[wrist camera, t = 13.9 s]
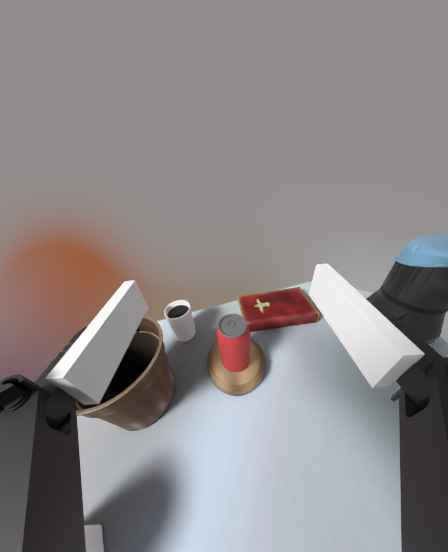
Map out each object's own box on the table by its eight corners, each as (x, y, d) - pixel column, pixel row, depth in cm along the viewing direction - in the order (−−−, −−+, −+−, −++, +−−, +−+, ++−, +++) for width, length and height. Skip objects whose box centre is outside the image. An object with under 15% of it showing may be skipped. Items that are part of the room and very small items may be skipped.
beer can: (234, 340, 42) (231, 306, 35) (256, 357, 37) (257, 323, 31) (215, 359, 38) (208, 325, 31) (236, 380, 34) (233, 347, 27)
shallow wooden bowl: (258, 338, 44) (258, 332, 43) (270, 393, 34) (271, 388, 32) (210, 341, 45) (209, 335, 43) (207, 397, 34) (205, 392, 33)
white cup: (201, 334, 47) (194, 309, 41) (179, 347, 44) (169, 323, 39) (191, 320, 52) (183, 296, 46) (171, 331, 49) (160, 307, 43)
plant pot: (108, 378, 39) (65, 337, 30) (174, 346, 45) (154, 303, 36) (101, 470, 27) (25, 448, 18) (193, 411, 32) (171, 370, 23)
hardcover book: (317, 323, 47) (320, 313, 45) (245, 334, 46) (244, 324, 44) (297, 296, 57) (299, 286, 55) (237, 304, 56) (237, 295, 54)
